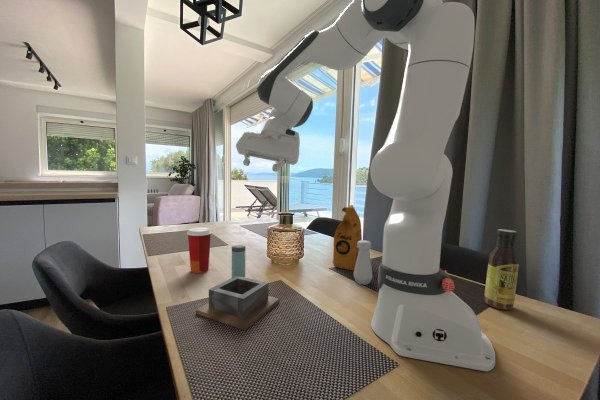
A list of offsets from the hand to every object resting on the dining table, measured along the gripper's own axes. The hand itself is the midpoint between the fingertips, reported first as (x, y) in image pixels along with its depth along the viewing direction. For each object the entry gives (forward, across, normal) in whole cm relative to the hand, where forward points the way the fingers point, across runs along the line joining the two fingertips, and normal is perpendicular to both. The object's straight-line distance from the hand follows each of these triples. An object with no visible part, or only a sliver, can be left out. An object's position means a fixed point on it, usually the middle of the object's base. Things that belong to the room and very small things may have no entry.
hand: (260, 167), depth 80 cm
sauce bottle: (+19, +72, +12) cm, 75 cm away
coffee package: (+11, +33, +34) cm, 49 cm away
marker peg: (+31, +2, +17) cm, 35 cm away
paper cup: (+29, -15, +24) cm, 41 cm away
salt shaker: (+20, +38, +21) cm, 48 cm away
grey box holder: (+38, +8, +5) cm, 40 cm away
